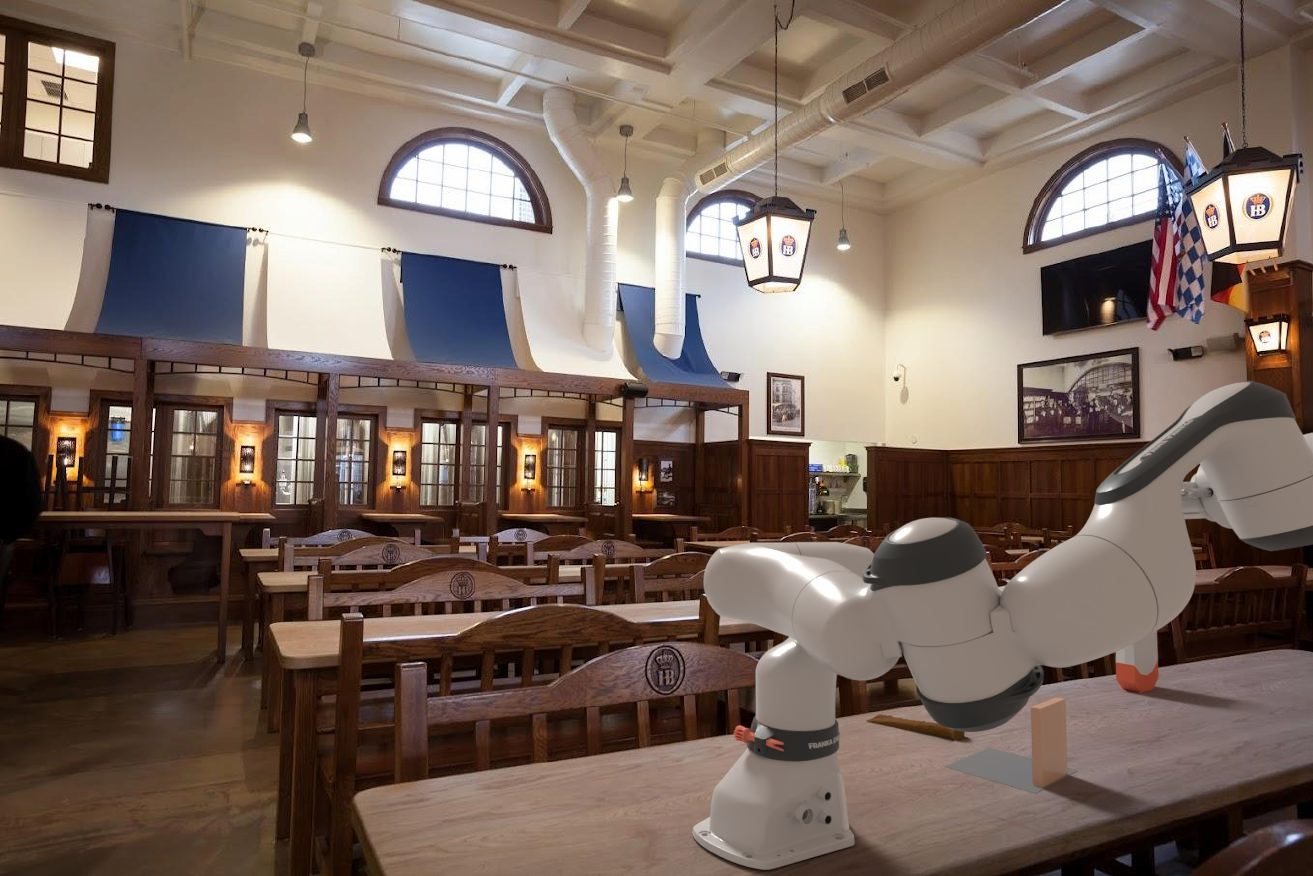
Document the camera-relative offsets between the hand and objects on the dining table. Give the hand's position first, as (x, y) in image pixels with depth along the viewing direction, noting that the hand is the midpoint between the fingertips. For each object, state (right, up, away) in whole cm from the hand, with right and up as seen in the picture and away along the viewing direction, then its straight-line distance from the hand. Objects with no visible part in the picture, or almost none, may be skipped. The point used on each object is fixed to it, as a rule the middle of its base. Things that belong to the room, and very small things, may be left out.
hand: (1129, 514), depth 109 cm
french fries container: (+46, -48, +74) cm, 100 cm away
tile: (-3, -44, +16) cm, 47 cm away
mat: (-7, -44, +21) cm, 50 cm away
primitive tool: (-16, -47, +44) cm, 66 cm away
